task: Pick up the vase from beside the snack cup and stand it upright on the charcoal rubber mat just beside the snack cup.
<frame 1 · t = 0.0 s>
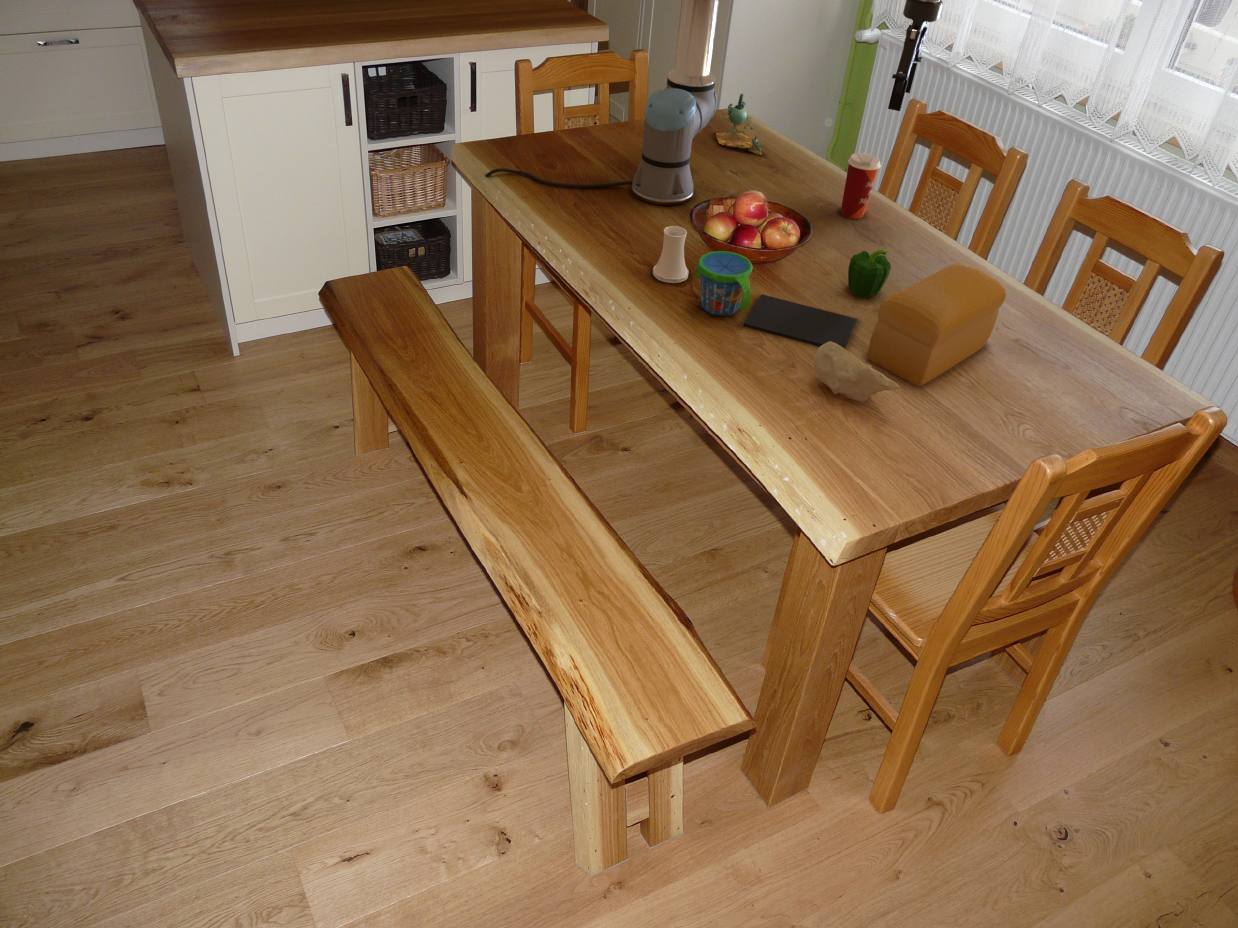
hand: (899, 100, 209), 28 cm above the table, tool pointing down, fingers open, 13 cm apart
bread: (927, 352, 181), on the table
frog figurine: (735, 146, 257), on the table
beige lumpy piece: (855, 394, 169), on the table
bell pepper: (862, 293, 198), on the table
placemat: (800, 323, 186), on the table
paper cup: (851, 214, 228), on the table
vase: (670, 275, 198), on the table
snack cup: (718, 309, 189), on the table
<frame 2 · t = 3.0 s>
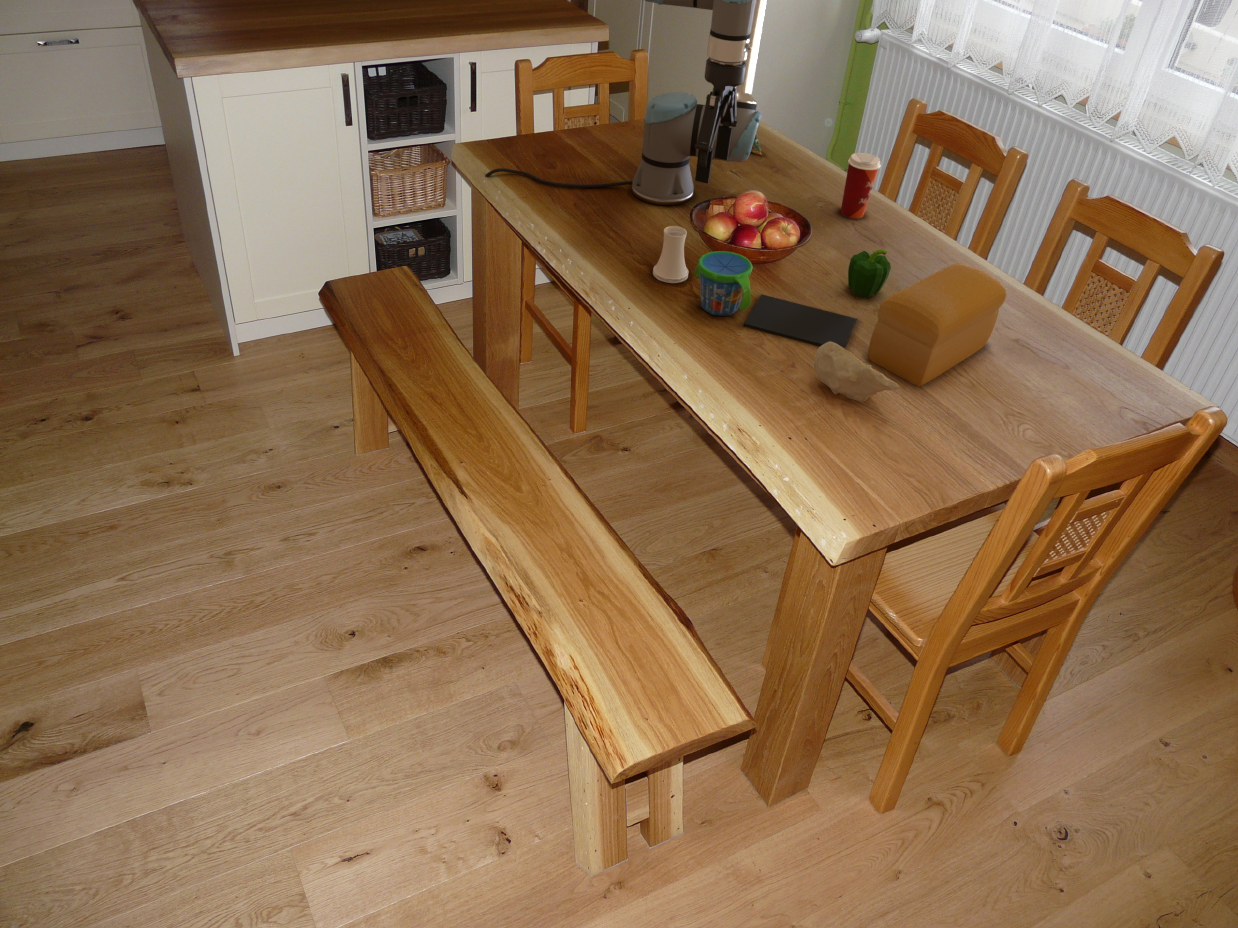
hand: (711, 170, 187), 22 cm above the table, tool pointing down, fingers open, 13 cm apart
nothing on the table moved.
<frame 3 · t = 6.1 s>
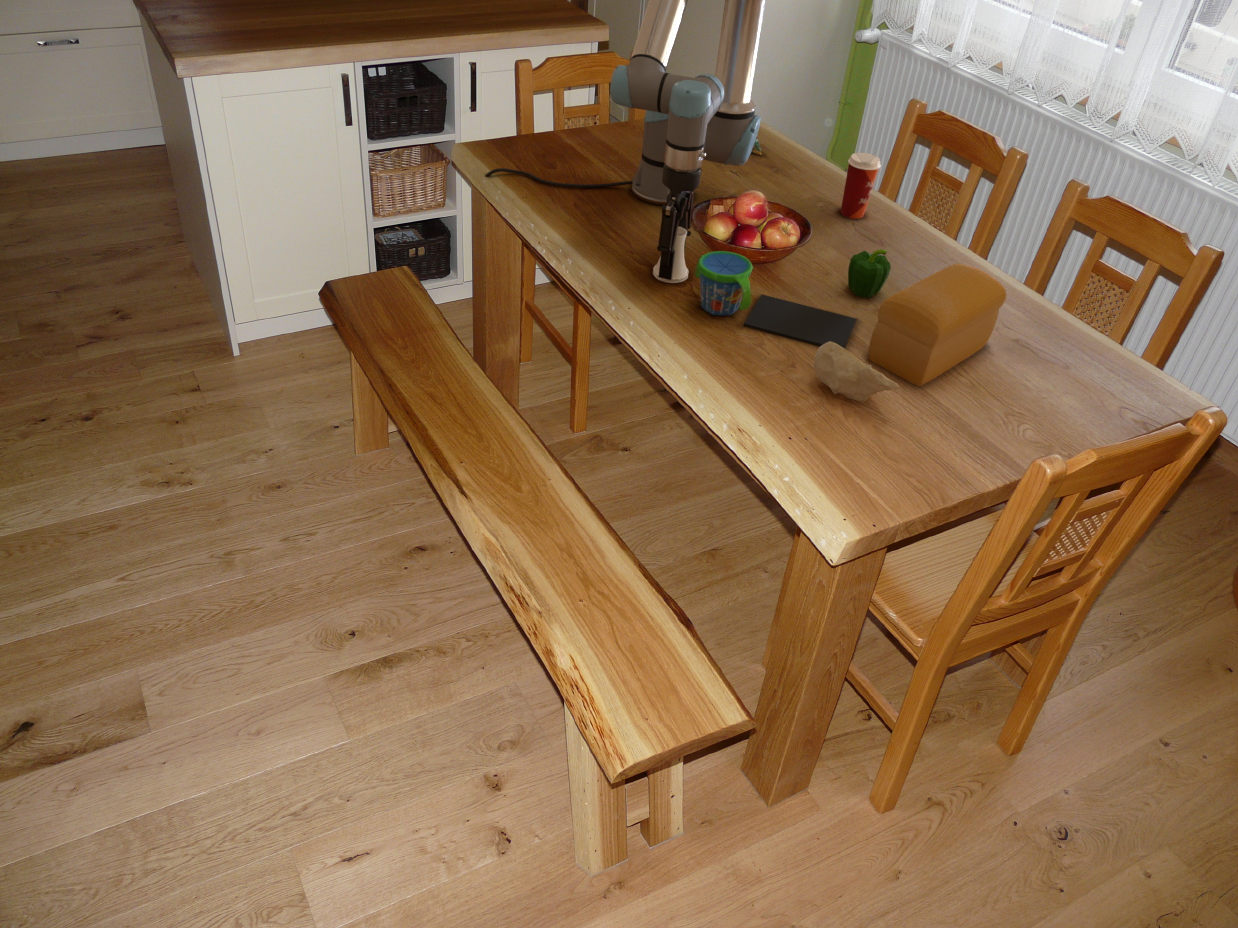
hand: (670, 270, 197), 1 cm above the table, tool pointing down, fingers closed on vase, 6 cm apart
vase: (670, 275, 198), on the table, touching gripper
everything else where it was.
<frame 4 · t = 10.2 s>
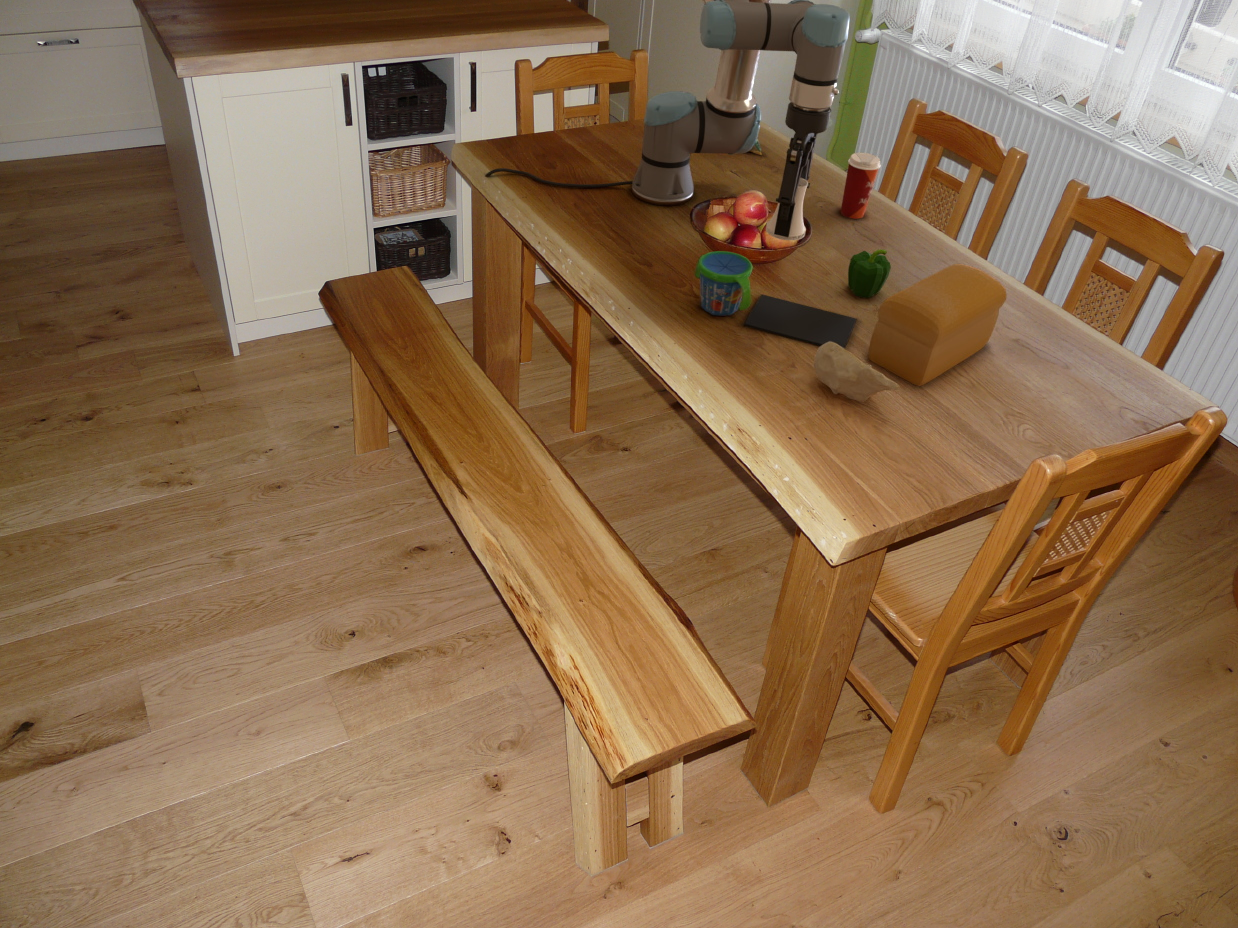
hand: (786, 227, 176), 19 cm above the table, tool pointing down, fingers closed on vase, 6 cm apart
vase: (785, 232, 177), point 18 cm above the table, touching gripper
everything else where it was.
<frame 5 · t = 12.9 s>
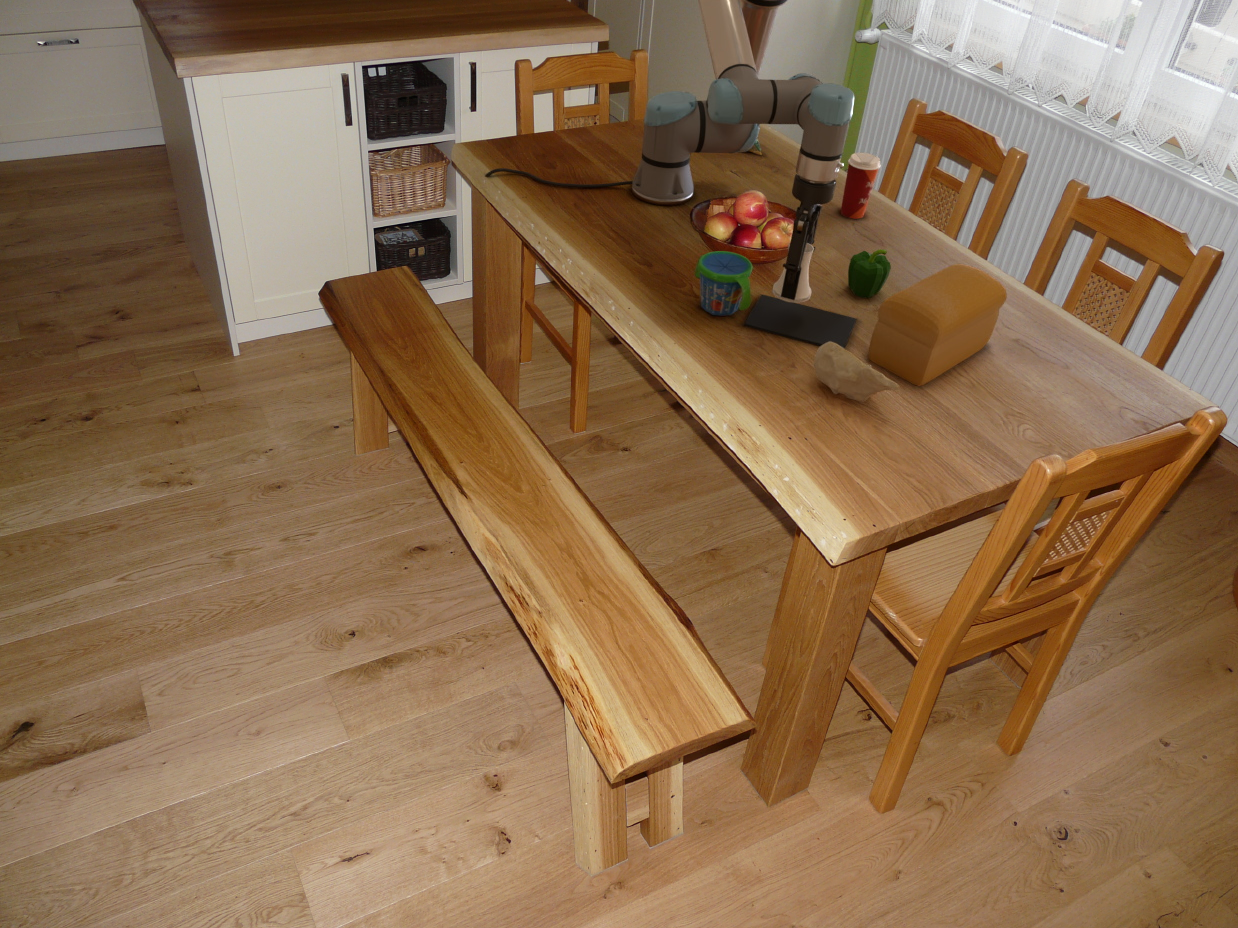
hand: (792, 289, 182), 7 cm above the table, tool pointing down, fingers closed on vase, 6 cm apart
vase: (791, 294, 183), point 6 cm above the table, touching gripper
everything else where it was.
when the fingers open (2 cm above the table, at t = 14.6 s): vase stays where it is, resting on placemat.
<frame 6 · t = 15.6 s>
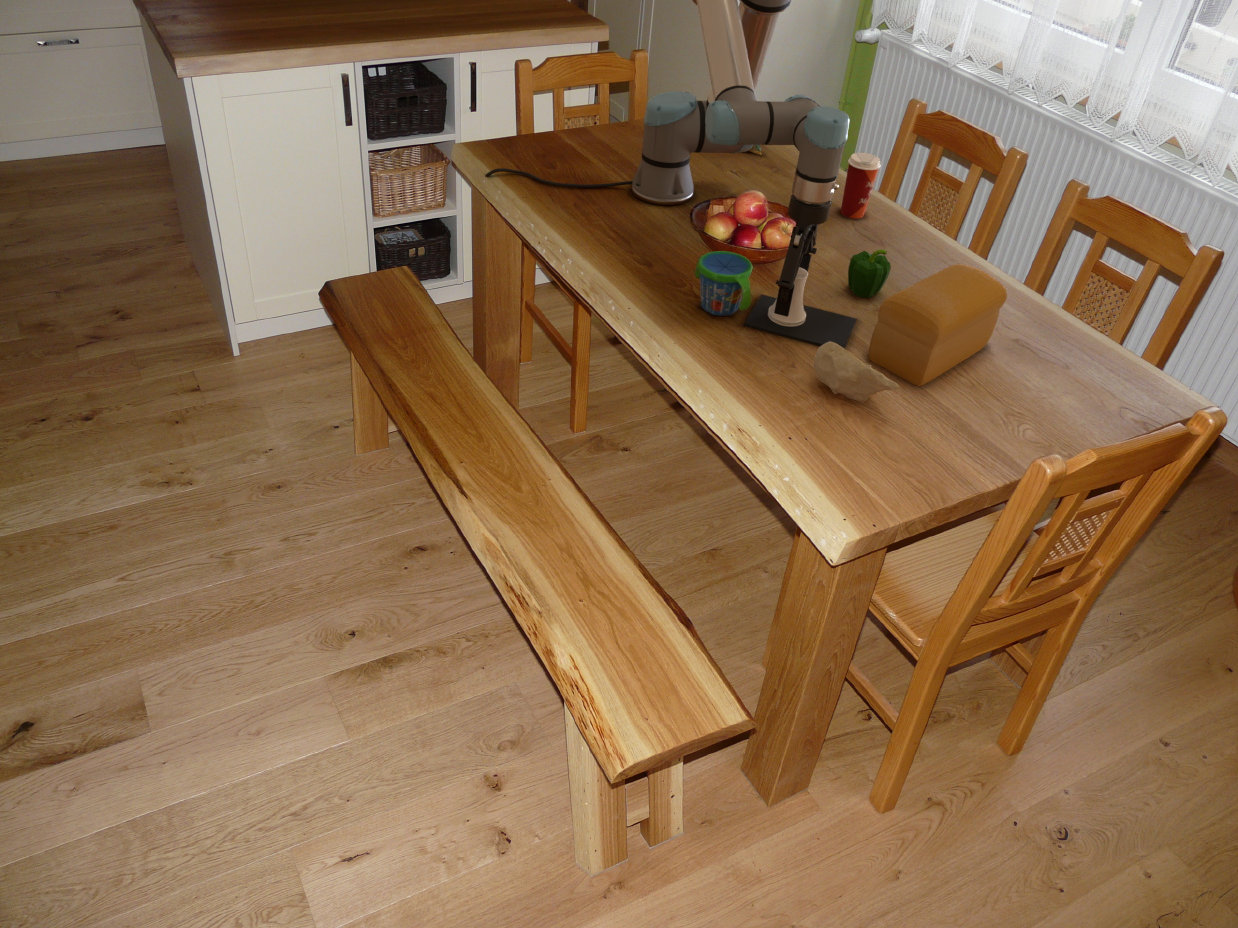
hand: (789, 298, 184), 5 cm above the table, tool pointing down, fingers open, 13 cm apart
vase: (786, 317, 187), resting on placemat
everything else where it was.
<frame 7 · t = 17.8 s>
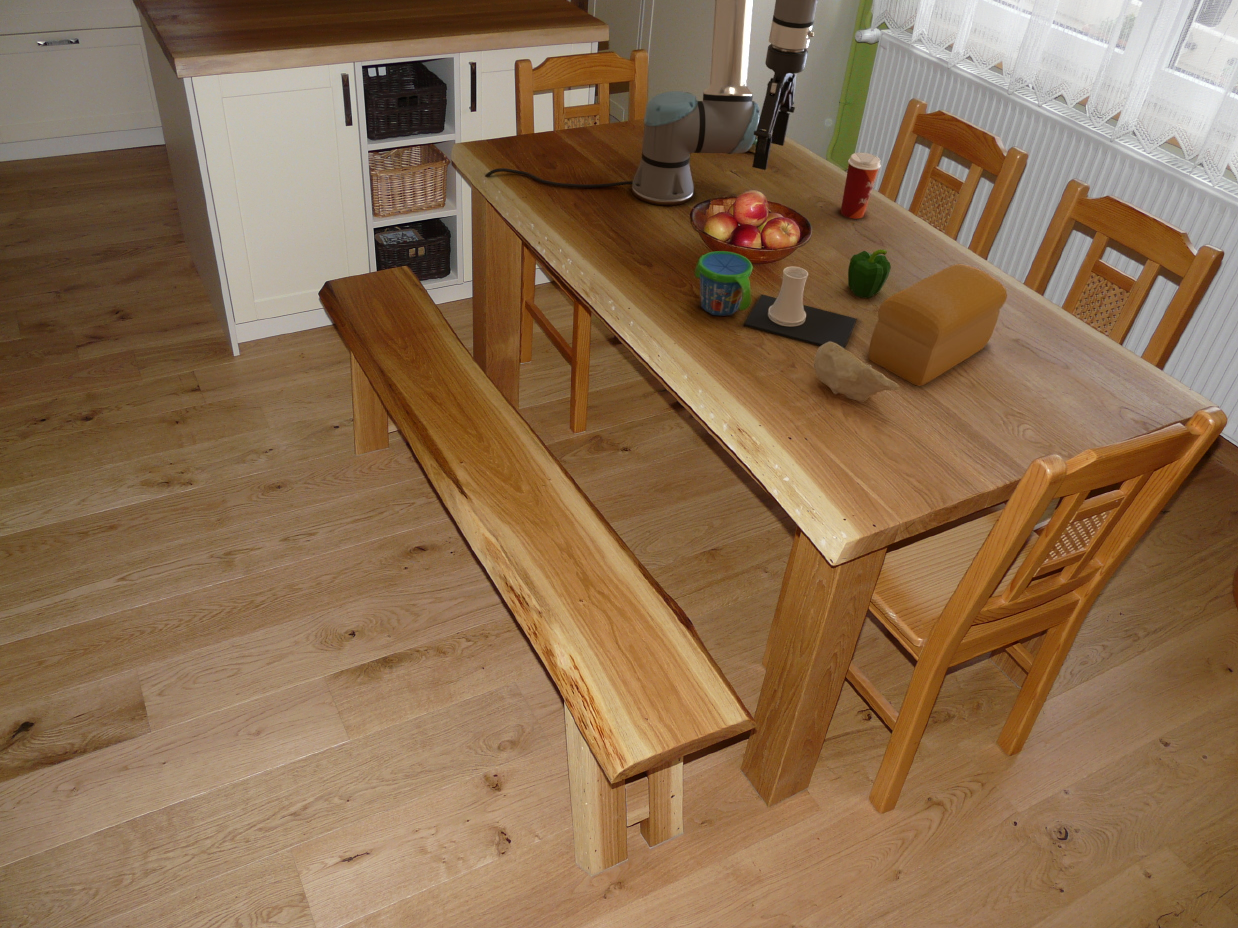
hand: (768, 156, 188), 24 cm above the table, tool pointing down, fingers open, 13 cm apart
nothing on the table moved.
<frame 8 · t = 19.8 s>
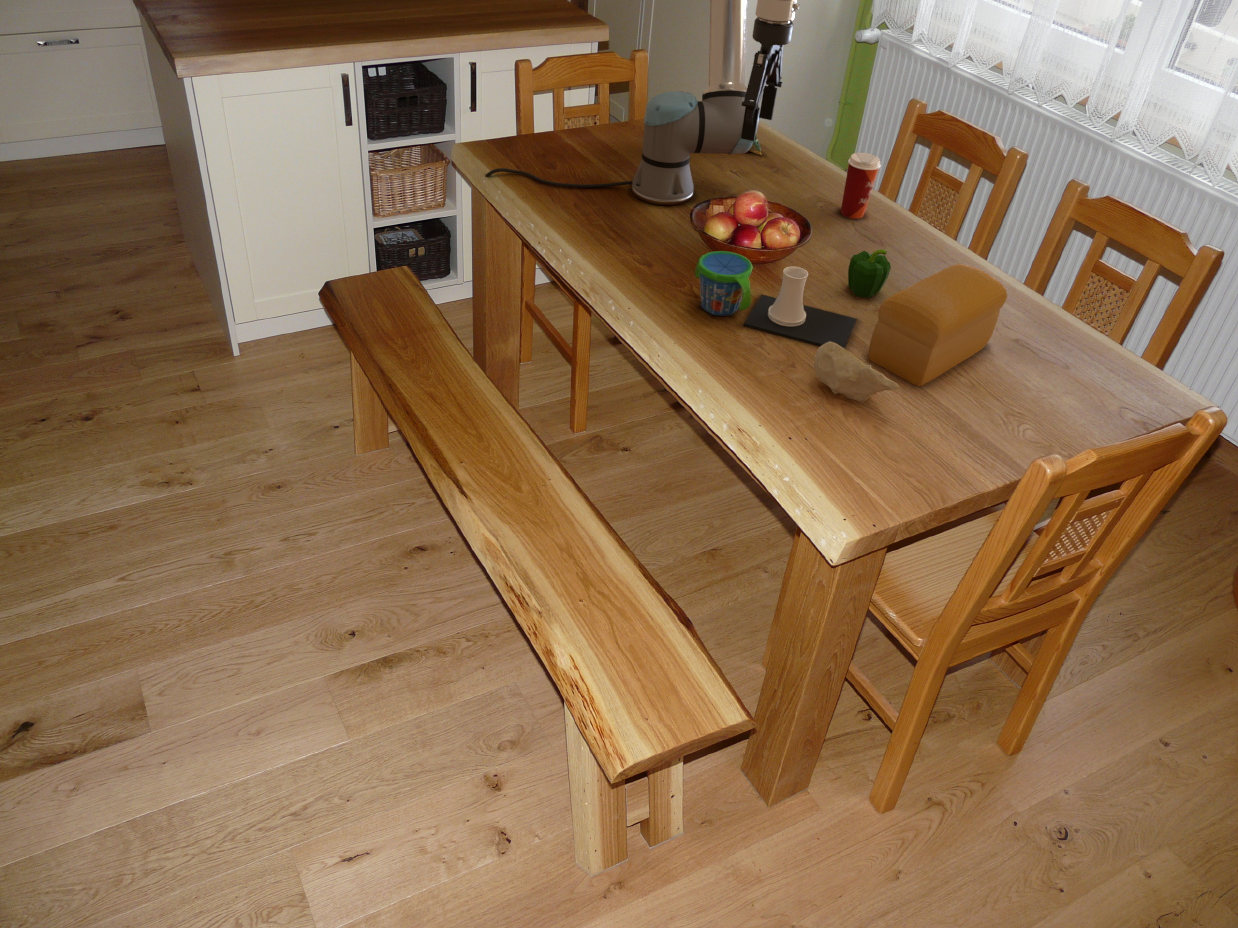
hand: (756, 129, 193), 27 cm above the table, tool pointing down, fingers open, 13 cm apart
nothing on the table moved.
at the end: vase inside the target area on the table beside the snack cup (1.9 cm from its centre), point 0.6 cm above the table; vase touching placemat; vase tilted 0° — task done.
